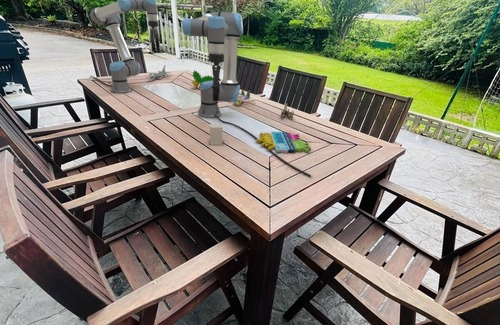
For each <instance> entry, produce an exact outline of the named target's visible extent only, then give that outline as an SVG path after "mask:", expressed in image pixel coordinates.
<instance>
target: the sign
mask: <svg viewBox="0 0 500 325" xmlns="http://www.w3.org/2000/svg"><path fill="white" fill-rule="evenodd" d="M299 136H300V135H299V134H298V133H296V134H294V133H291V132H287V131H270V132H264V133H263V132H260V133H259V138H257V140H256V143H257V144H261V143H260V142H262V144H261V148H263V147H264V145H265V147H264V148H265V149H267V148H266V147H268V149H267V151H268V152H270V151H269V150H271V151H272V150H273V149H275V152H276V153H283V154H285V153H287V154H288V153H290V154H293V153H296V152H298V153H301V152H305V153H310V151H311V150H312V149H311V148H312V146H309V142H304V141H303V139H302V138H299Z"/></svg>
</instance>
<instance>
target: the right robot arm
mask: <svg viewBox="0 0 500 325" xmlns="http://www.w3.org/2000/svg"><path fill="white" fill-rule="evenodd" d="M181 30H182V33H183V35H184V36H188V37H202V38H207V40H208V44H206V47H207V48H208V49H207V50H208V52H209V53H208V62H209V63H213V64H212V66H211V71H212V78H213V81H205V82H203V83H201V89H199V90H200V106H199V109H198V116H199V117H201V118H205V119H214V118H217V119H218V120H219V121H220V122H222V123H224V124H228V125H233V126H235V127H237V128H238V129H240V130H242V131H244V132H246V133H247V134H248V135H250V136H251V137H253V139H255V140H256V141H257V139H258V137H256V136H255V135H254V134H253V133H252V132H249V131H248V130H247V129H244V128H243V127H241V126H239V125H236V124H235V123H232V122H229V121H225V120H222V118H220V117H221V110H220V108H219V102H225V103H234V102H237V100H238V96H240V92H241V91H240V90H241V86H240V84H239V82H238V80H237V66H238V64H237V63H238V43H239V42H238V41H239V40H240V39H241V36H242V35H243V34H244V25H243V17H242V14H240V13H237V12H223V11H213V12H207V13H204V14H203V15H201V16H200V17H195V18H183V19H182V21H181ZM221 63H222V64H223V69H222V70H223V73H222V79H221V78H220V74H221V65H220V64H221ZM259 144H261V145H262V142H260V143H259ZM264 148H265V145H264ZM265 149H266V150H268V147H266V148H265ZM268 152H270V153H271V154H272V155H274V156H275V157H276V158H277V159H279V160H280V161H281V162H283V163H285V164H286V165H287V166H289V167H291V168H292V169H294V170H296V171H298V172H300V173H302V174H303V175H306V176H307V177H309V178H310V177H312V174H310V173H307V172H306V171H303V170H301V169H300V168H298V167H296V166H294V165H292V164H291V163H289V162H288V161H286V160H285V159H283V158H282V157H280V156H279V155H278V154H276V153H275V152H274V151H273V150H272V149H271V150H269V151H268Z"/></svg>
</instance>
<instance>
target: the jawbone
mask: <svg viewBox="0 0 500 325" xmlns="http://www.w3.org/2000/svg"><path fill="white" fill-rule="evenodd" d="M294 111H295V110H294V109H293V110H292V111H291V112H290V108H288V103H284V107H283V109H281V113H280V119H283V118H284V117H285V116H286V117H287V118H289V120H293V119H294V115H295V114H294Z"/></svg>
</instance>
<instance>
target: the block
mask: <svg viewBox="0 0 500 325" xmlns="http://www.w3.org/2000/svg"><path fill="white" fill-rule="evenodd" d="M223 125H224V124H223V123H220V122H219V123H218V122H217V123H215V122H210V124H209V145H210V146H211V145H212V146H222V145H223V135H224V134H223V130H224V129H223V127H224V126H223Z"/></svg>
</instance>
